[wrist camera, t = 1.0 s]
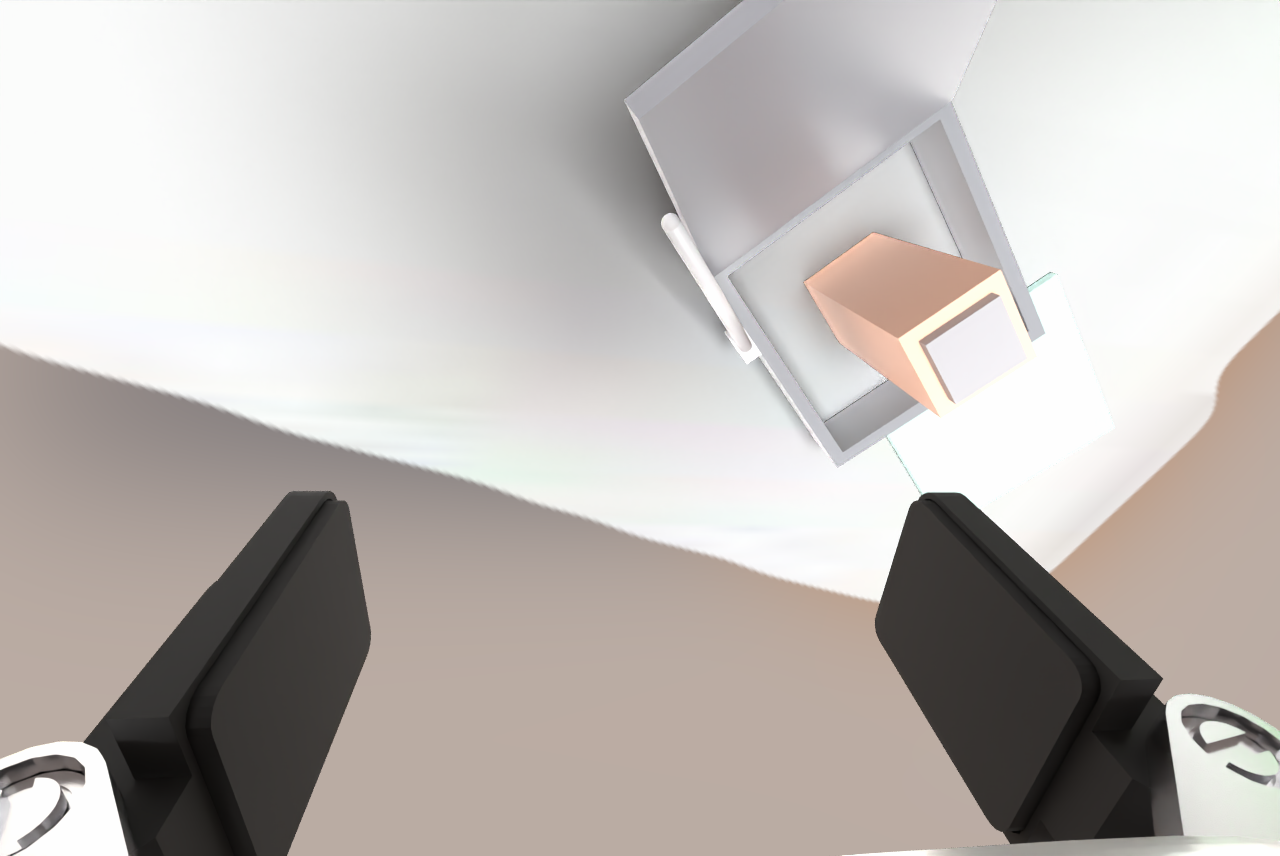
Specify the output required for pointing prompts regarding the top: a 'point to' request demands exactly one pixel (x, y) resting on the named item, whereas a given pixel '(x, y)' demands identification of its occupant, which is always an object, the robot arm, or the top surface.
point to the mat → (1012, 416)
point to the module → (923, 319)
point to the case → (816, 153)
